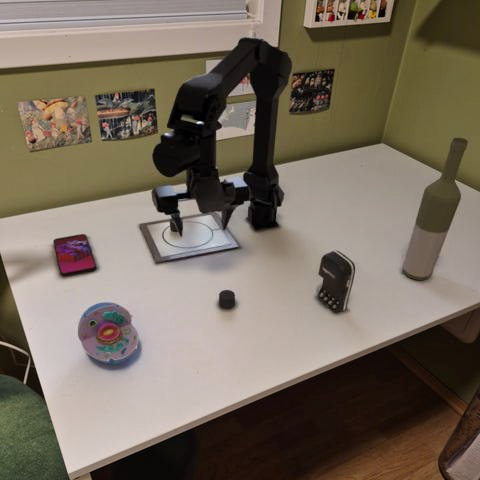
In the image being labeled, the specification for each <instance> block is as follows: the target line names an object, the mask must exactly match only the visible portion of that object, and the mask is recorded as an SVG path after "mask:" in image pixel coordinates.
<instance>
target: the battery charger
mask: <svg viewBox="0 0 480 480" xmlns="http://www.w3.org/2000/svg"><path fill="white" fill-rule="evenodd" d="M318 275H319V277H321V278H322V284H321V286H320V288H319V291H318V294H317V299H318V300H319V301H320V302H321V303H322V304H323V305H325V306H326V307H327V308H328V309H329V310H330V311H332V312H334V313H340V312H342V311H345V310H347V307H348V303H349V299H350V295H351V291H352V288H353V284H354V279H355V275H356V265H355V263H354V261H353V260H352V259H350V258H349V257H348V256H346V254H344V253H342V252H341V251H339V250H331V251H330V252H327V253H324V254H323V256H322V257H321V259H320V263H319V268H318Z"/></svg>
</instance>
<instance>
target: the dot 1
mask: <svg viewBox="0 0 480 480" xmlns="http://www.w3.org/2000/svg"><path fill="white" fill-rule="evenodd" d="M169 219H170V230H171V231H172V232H178V230H177V228H176V226H175V223H174V221H173V219H172V217H171V218H169ZM180 220H181V226H182V230H183V220H182V218H180Z"/></svg>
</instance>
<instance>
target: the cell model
mask: <svg viewBox="0 0 480 480" xmlns="http://www.w3.org/2000/svg"><path fill="white" fill-rule="evenodd" d="M132 319H133V314H131V313H130V312H129V310H128V309H127V308H125V307H124V306H122V305H120V304H117V303H115V302H111V301H104V302H103V301H102V302H97V303H95V304H93V305H91V306H89V307H88V308H87V309H86V310H84V312H83V313H82V314H81V316H80V318H79V321H78V325H77V338H78V339H79V341H80V344H81V347H82V349H83V350H84V351H85V353H87V354H88V355H89V356H90V357H91V358H93V359H94V360H97V361H99V362H100V363H104V364H118V363H122V362H124V361H127V359H129V358H130V357H131V356H132V355H133V354H134V353H135V352H136V351H137V350H138V347H137V346H138V343H139V333H138V330H137V328H136V327H135V325H134V324H132V321H133V320H132Z"/></svg>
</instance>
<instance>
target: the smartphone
mask: <svg viewBox="0 0 480 480" xmlns="http://www.w3.org/2000/svg"><path fill="white" fill-rule="evenodd" d="M88 239H89V238H88V236H87V234H85V233H81V234H80V233H79V234H74V235H69V236H68V235H67V236H63V237H57V238H55V239H53V247H54V252H55V256H56V259H57V264H58V268H59V274H60V276H62V277H68V276H72V275H77V274H82V273H86V272H87V273H88V272H91V271H92V272H93V271H95V270H96V269H97V265H96V262H95V261H96V260H95V258H94V255H93V251H92V249H91V245H90V242H89V240H88Z"/></svg>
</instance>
